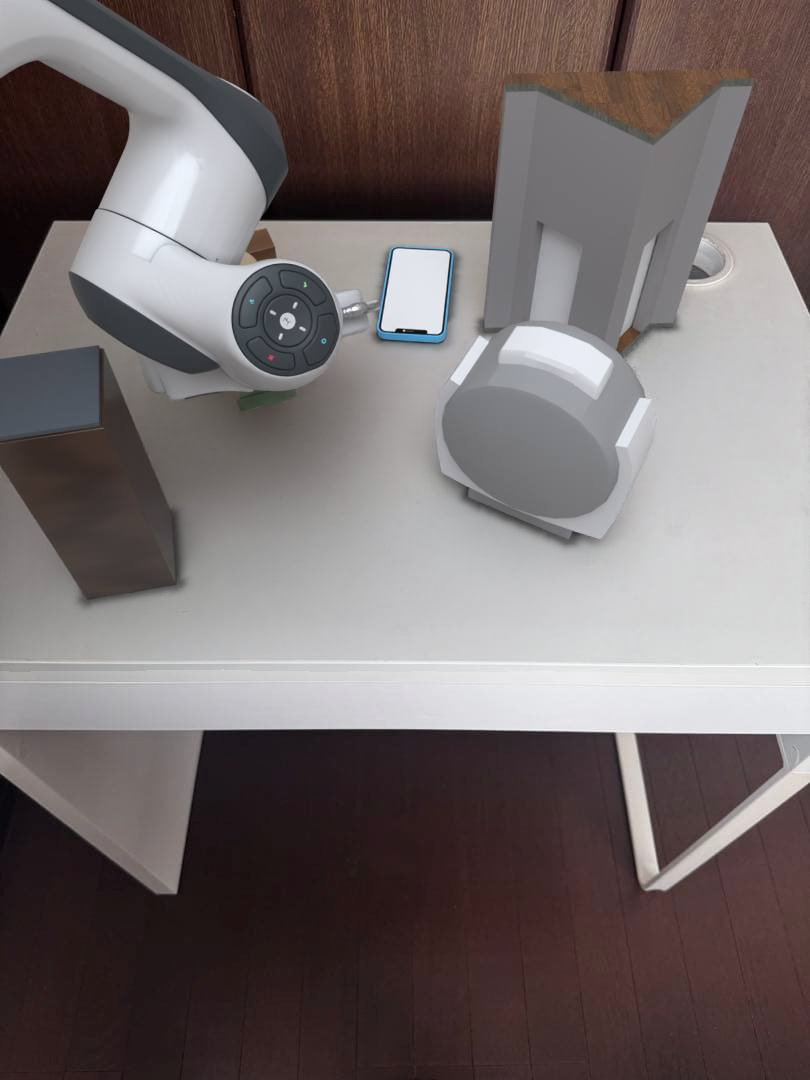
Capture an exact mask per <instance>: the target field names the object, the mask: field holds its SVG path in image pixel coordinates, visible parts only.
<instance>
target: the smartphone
mask: <svg viewBox="0 0 810 1080" xmlns="http://www.w3.org/2000/svg"><path fill="white" fill-rule="evenodd" d="M388 254H389V255H388V260H387V266H386V271H385V279H384V283H383V289H382V297H381V302H380V309H379V312H378V313H379V314H378V320H377V325H376V329H377V331H376V332H377V336H378V337H379V338H380V339H383V340H390V341H404V342H405V341H408V342H420V343H421V342H423V343H440V342H443V341H444V340H445V338H446V334H447V326H448V325H447V324H448V316H449V315H448V314H449V306H450V296H451V286H452V275H453V266H454V252H453V251H452V250H451V249H448V248H438V247H421V246H405V245H404V246H403V245H397V246H393V247H392V248H391V249H390V250H389V253H388Z"/></svg>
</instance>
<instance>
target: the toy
mask: <svg viewBox="0 0 810 1080" xmlns="http://www.w3.org/2000/svg"><path fill="white" fill-rule="evenodd" d="M255 262H257V261H256V259H255V258H254V257H253V256H251V255H250V254H249V253H247V252H245V253H244V256H243V258H242V260H241V262H240V264H239V265H248V264H252V263H255ZM236 392H237V395H238V398H237V399H236V402H237V405H238V409H239V412H241V413H242V412H246V411H250V410H254V409H258V408H261V407H266V406H269V405H274V404H276V403H280V402H284V401H287V400H289V399H293V398H295V397H297V396H298V395H297V391H296V389H292V390H286V391H263V390H254V391H252V392H243V391H236Z"/></svg>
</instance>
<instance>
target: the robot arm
mask: <svg viewBox="0 0 810 1080" xmlns="http://www.w3.org/2000/svg"><path fill="white" fill-rule="evenodd" d="M35 61H39V62H41V63H43V64H44V65H46V66H47V67H49V68H52V69H54V70H56V71H57V72H59V73H61V74H63V75H64V76H66V77H68V78H69V79H72V80H73V81H75V82H78V83H79V84H80V85H83V86H84V87H86V88H88V89H90V90H92V91H93V92H96V93H97V94H99V95H100V96H103V97H104V98H106V99H108V100H110V101H112V102H114V103H116V104H117V105H119V106H120V107H123V108H124V109H125V110H126V111H127V113H128V118H129V130H128V137H127V141H126V144H125V147H124V149H123V152H122V154H121V156H120V159H119V160H118V163H117V165H116V167H115V170H114V172H113V175H112V176H111V179H110V181H109V183H108V185H107V188H106V190H105V192H104V194H103V197H102V199H101V201H100V203H99V206H98V208H97V209H95V211H94V214H93V215H92V218H91V220H90V221H89V225H88V227H87V229H86V231H85V234H84V235H83V238H82V240H81V243H80V246H79V247H78V250H77V252H76V254H75V257H74V259H73V262H72V264H71V267H70V270H69V271H68V278H69V282H70V283H69V284H70V286H71V289H72V291H73V293H74V296H75V298H76V300H77V302H78V304H79V305H80V307H81V310H82V311H83V313H84V314H85V316H86V317H87V319H88V320H89V321H91V322H92V323H93V324H94V325H96V326H97V327H98V328H100V329H101V330H103V331H104V332H105V333H106V334H108V335H109V336H111V337H112V338H113V339H115V340H116V341H118V342H120V343H121V344H123V345H125V346H126V347H128V348H129V349H131V350H133V351H135V353H136V355H137V359H138V363H139V365H140V369H141V371H142V375H143V377H144V380H145V383H146V385H147V388H148V390H149V391H150V392H152V393H155V394H161V395H164V394H166V396H167V398H168V400H169V401H173V402H174V401H175V402H176V401H180V400H183V399H185V400H188V399H192V398H197V397H201V396H206V395H214V394H222V393H223V392H237V391H243V392H252V391H254V390H263V391H286V390H292V389H295V390H296V389H299V388H302V387H304V386H307V385H309V384H311V383H312V382H313V381H315V380H316V379H317V378H319V377H320V376H321V375H322V374H323V373H324V372H325V371H326V370H327V369H328V368H329V366H330V365H332V363H333V361H334V360H335V358H336V356H337V354H338V352H339V349H340V346H341V343H342V339H343V338H346V337H350V336H354V335H358V334H360V333H363V332H366V331H367V330H369V329H370V328H371V322H370V318H369V314H370V313H373V312H376V311H380V307H381V302H379V300H378V299H374V300H371V301H370V300H369V301H367V302H366V301H365V300H364V299H365V298H364V296H363V292H362V290H361V289H359V288H354V289H353V288H352V289H347V290H342V291H337V292H335V291H334V289H333V287H332V286H331V285H330V284H329V282H328V281H327V280H326V279H325V278H324V277H323V276H322V275H321V274H320V273H319V272H317V271H316V270H315V269H314V268H312V267H310V266H308V265H306V264H304V263H302V262H299V261H296V260H292V259H290V258H289V259H288V258H278V257H277V258H274V259H266V260H261V261H258V262H255V263H252V264H248V265H239V264H240V262H241V260H242V258H243V256H244V253H245V251H246V249H247V247H248V245H249V242H250V240H251V238H252V236H253V234H254V231H256V230H257V227H258V225H259V223H260V220H261V218H262V216H263V215H264V214H265V213H266V212H267V210H268V209H269V206H270V205H271V203H272V201H273V200H274V198H275V196H276V194H277V193H278V191H279V188H281V186H282V184H283V182H284V181H285V178H286V177H287V175H288V173H289V163H288V158H287V152H286V148H285V143H284V139H283V136H282V133H281V129H280V127H279V125H278V121H277V119H276V117H275V115H274V114H273V113H272V112H271V111H270V110H269V109H268V108H267V107H266V106H264V105H263V104H262V103H261V102H260V101H259V100H258V99H257V98H256V97H254V96H253V95H252V94H250V93H249V92H247V91H246V90H244V89H242V88H241V87H239V86H238V85H236V84H234V83H232V82H230V81H227V80H226V79H223V78H221V77H219V76H217V75H214V74H212V73H211V72H209V71H207V70H206V69H203V68H201V67H200V66H198V65H196V64H195V63H193V62H191V61H190V60H188V59H186V58H184V57H183V56H182V55H180V54H179V53H177V52H175V51H174V50H173V49H172V48H169V47H168V46H166V45H165V44H163V43H162V42H160V41H158V39H156V38H155V37H153V36H151V35H149V34H148V33H147V32H145V31H143V30H142V29H141V28H139V27H138V26H137V25H134V24H133V23H132V22H130V21H129V20H126V19H125V18H124V17H122V16H121V15H119V14H118V13H116V12H114V11H113V10H112V9H110V8H109V7H107V6H106V5H104V4H103V3H101V2H100V1H99V0H0V79H1V78H3V77H4V76H6V75H7V74H9V73H10V72H12V71H14V70H16V69H17V68H19V67H21V66H23V65H25V64H28V63H31V62H35Z"/></svg>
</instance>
